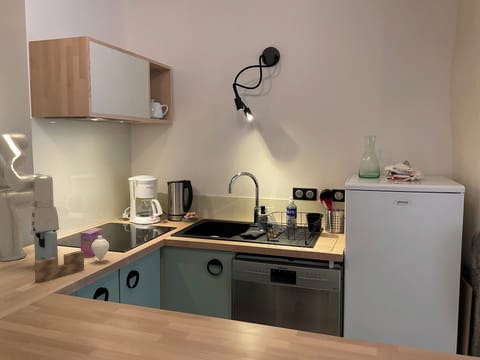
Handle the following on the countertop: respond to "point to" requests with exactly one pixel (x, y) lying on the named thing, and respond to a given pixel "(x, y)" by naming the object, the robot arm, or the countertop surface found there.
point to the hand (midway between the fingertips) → (45, 246)
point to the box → (89, 241)
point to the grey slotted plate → (46, 246)
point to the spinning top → (100, 247)
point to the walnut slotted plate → (50, 270)
